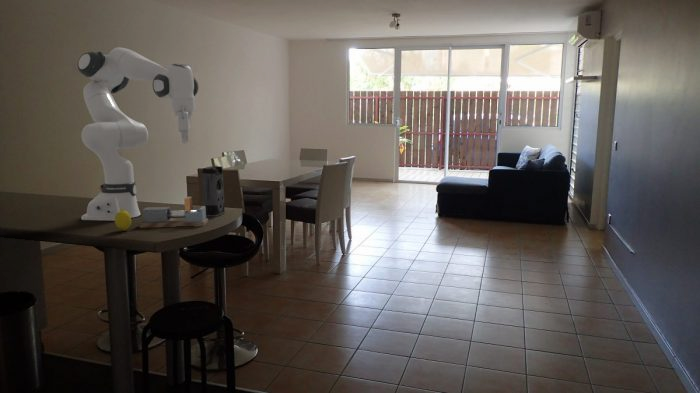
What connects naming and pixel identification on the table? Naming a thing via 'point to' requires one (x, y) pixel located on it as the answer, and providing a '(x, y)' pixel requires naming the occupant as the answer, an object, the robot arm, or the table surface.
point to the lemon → (123, 220)
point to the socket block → (196, 215)
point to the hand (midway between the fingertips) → (185, 142)
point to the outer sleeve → (155, 214)
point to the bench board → (173, 223)
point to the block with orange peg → (182, 212)
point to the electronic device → (213, 190)
